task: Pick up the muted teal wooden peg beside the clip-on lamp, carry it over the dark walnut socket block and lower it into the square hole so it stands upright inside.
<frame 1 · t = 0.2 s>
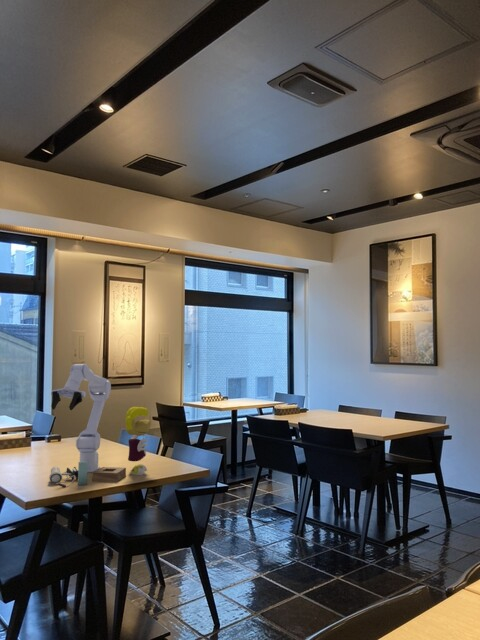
hand: (61, 408, 210), 31 cm above the table, tool tilted 45°, fingers open, 7 cm apart
toy: (137, 472, 232), on the table
socket block: (109, 478, 220), on the table
teal peg: (82, 484, 210), on the table
clip-on lamp: (64, 483, 212), on the table
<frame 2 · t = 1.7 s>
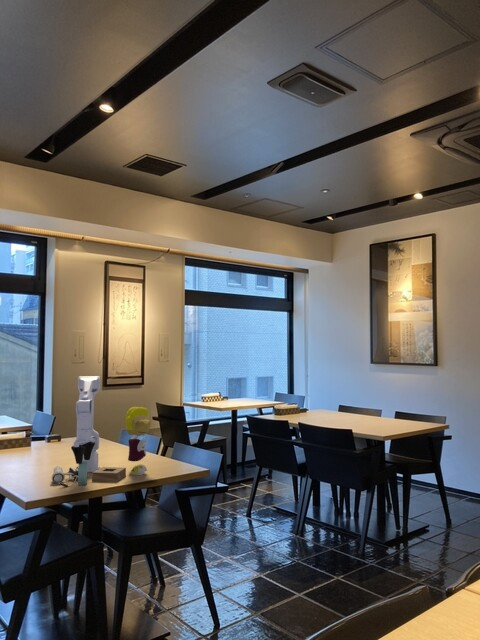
hand: (83, 461, 210), 9 cm above the table, tool pointing down, fingers open, 7 cm apart
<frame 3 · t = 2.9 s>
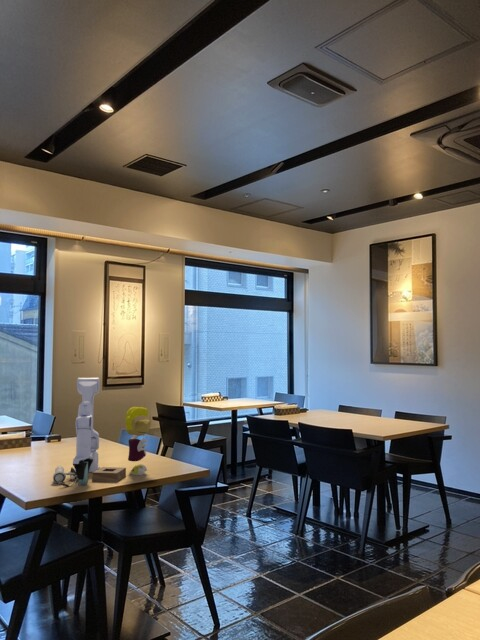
hand: (82, 478, 210), 2 cm above the table, tool pointing down, fingers closed on teal peg, 4 cm apart
teal peg: (82, 484, 209), on the table, touching gripper
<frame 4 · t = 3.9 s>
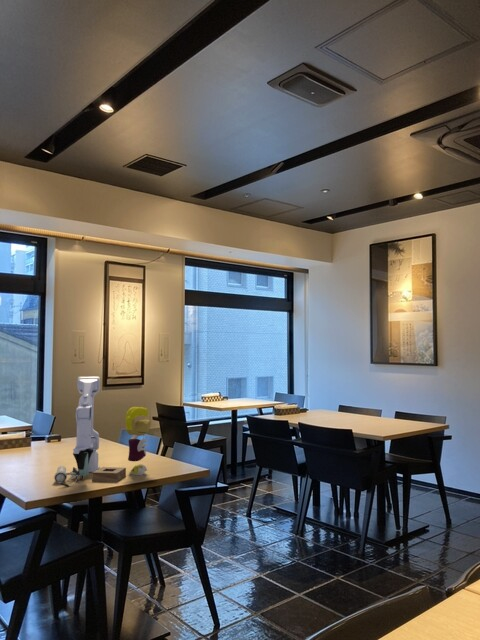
hand: (82, 468, 210), 6 cm above the table, tool pointing down, fingers closed on teal peg, 4 cm apart
teal peg: (83, 474, 210), point 4 cm above the table, touching gripper
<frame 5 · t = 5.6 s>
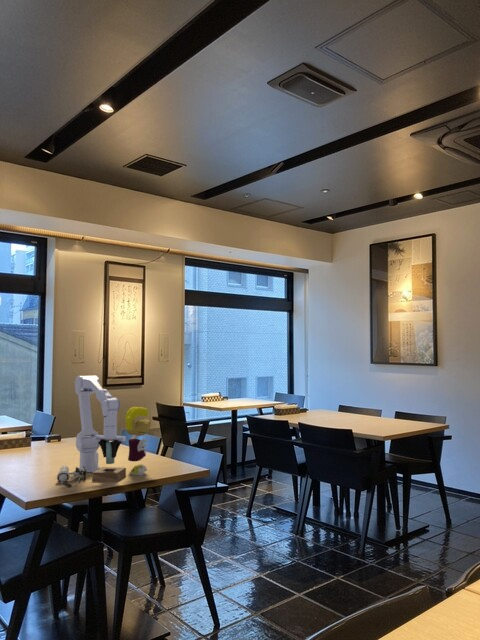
hand: (109, 457, 221), 9 cm above the table, tool pointing down, fingers closed on teal peg, 4 cm apart
teal peg: (110, 462, 221), point 6 cm above the table, touching gripper
clip-on lamp: (71, 483, 213), on the table
everything else where it was.
when the fingers open (4 cm above the table, at t = 6.7 s): teal peg drops 2 cm, on the table.
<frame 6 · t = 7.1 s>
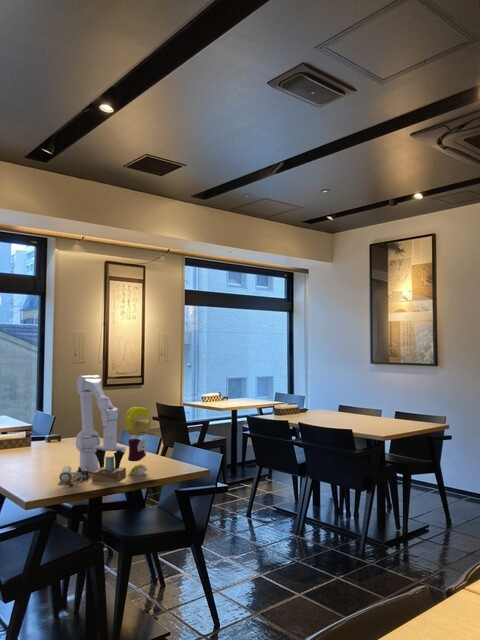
hand: (109, 467, 220), 4 cm above the table, tool pointing down, fingers open, 7 cm apart
teal peg: (109, 477, 221), on the table
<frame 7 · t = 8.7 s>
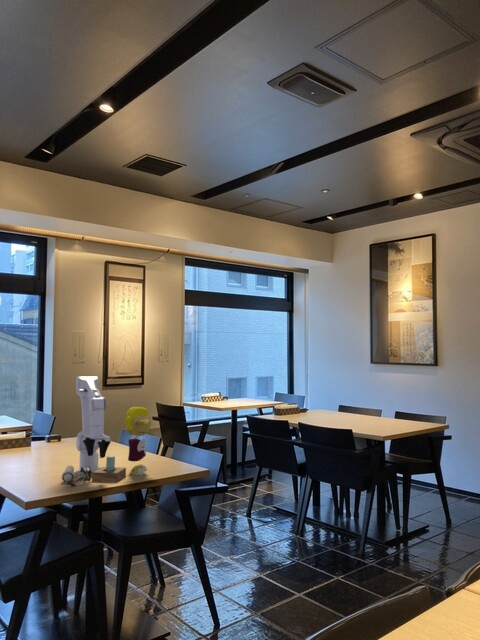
hand: (96, 456, 220), 9 cm above the table, tool pointing down, fingers open, 7 cm apart
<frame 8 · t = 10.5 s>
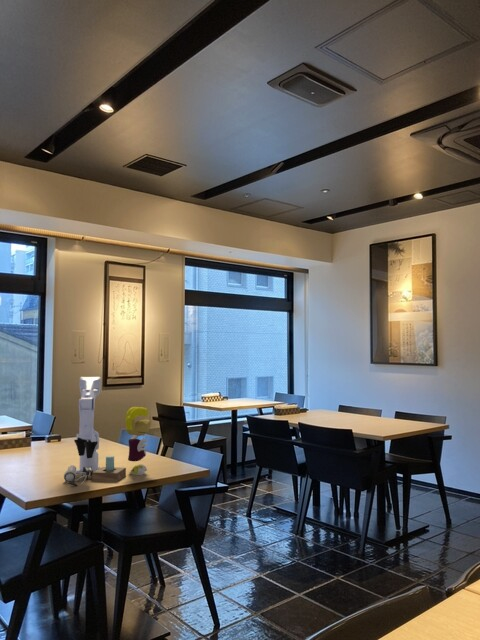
hand: (85, 456, 220), 9 cm above the table, tool pointing down, fingers open, 7 cm apart
clip-on lamp: (78, 482, 214), on the table, touching socket block
everything else where it was.
at the end: teal peg 0.5 cm off-centre on the socket block, point 0.0 cm above the socket block's base; teal peg tilted 2°; the gripper is holding nothing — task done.
